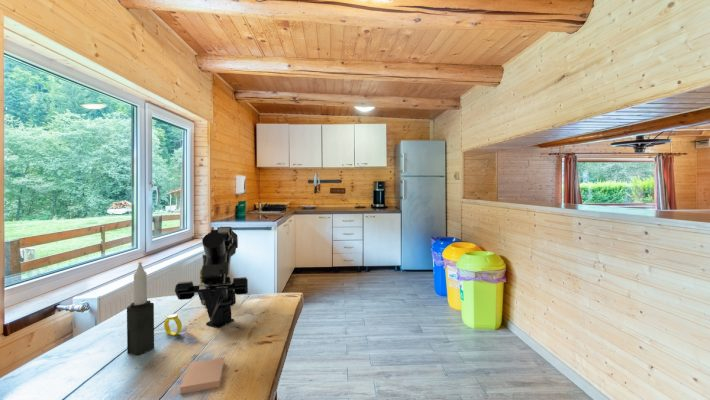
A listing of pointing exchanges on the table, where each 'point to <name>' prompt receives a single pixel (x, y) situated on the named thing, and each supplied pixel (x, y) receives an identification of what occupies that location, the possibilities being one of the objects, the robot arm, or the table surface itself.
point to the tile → (202, 375)
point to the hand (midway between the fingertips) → (210, 317)
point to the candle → (140, 317)
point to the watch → (178, 322)
